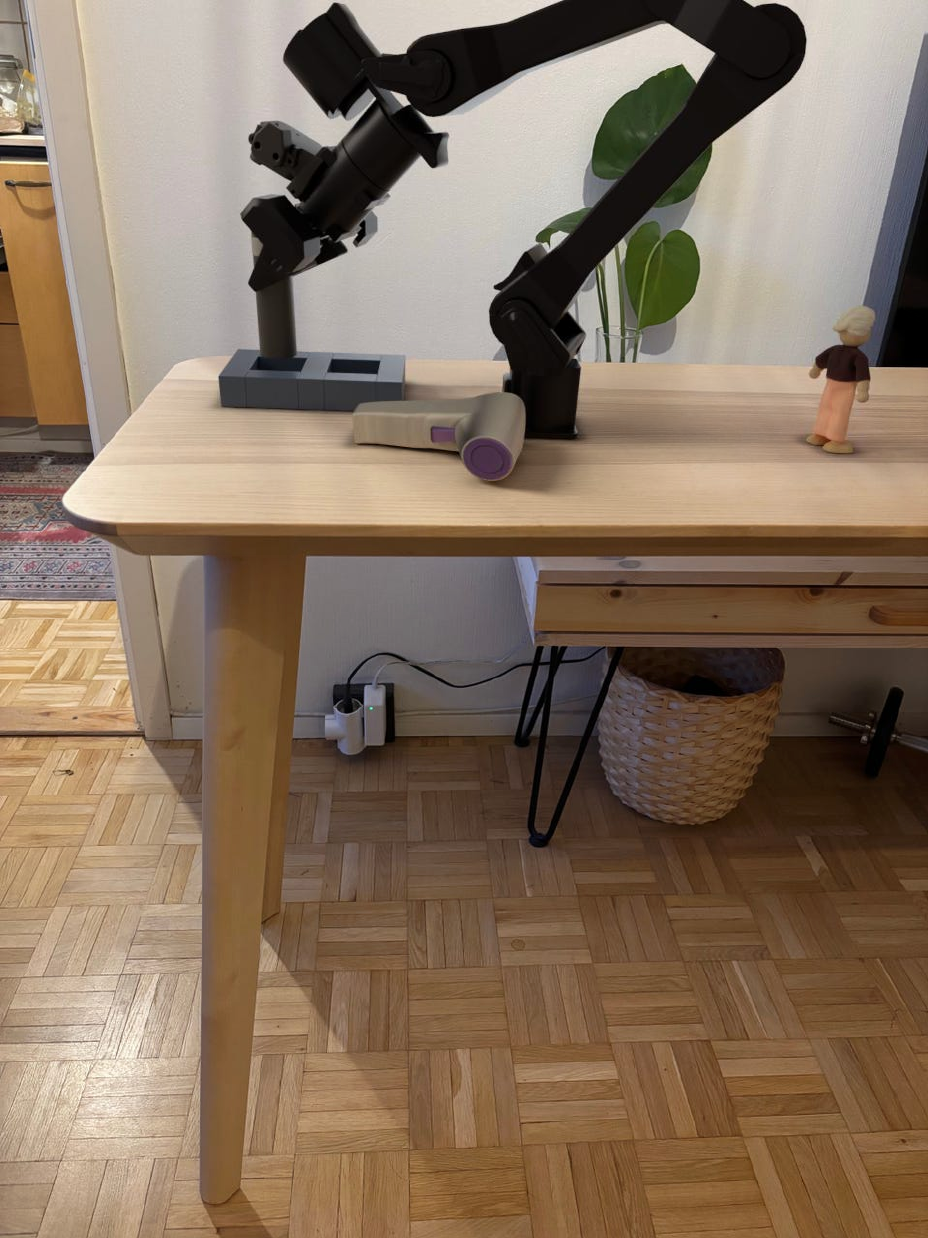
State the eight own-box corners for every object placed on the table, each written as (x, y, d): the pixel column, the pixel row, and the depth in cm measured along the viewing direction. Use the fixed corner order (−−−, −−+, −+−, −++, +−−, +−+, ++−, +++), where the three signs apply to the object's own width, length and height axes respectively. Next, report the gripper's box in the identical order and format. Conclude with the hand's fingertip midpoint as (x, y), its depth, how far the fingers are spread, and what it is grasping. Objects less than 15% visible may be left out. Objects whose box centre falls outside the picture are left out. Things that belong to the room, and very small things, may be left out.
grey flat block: (405, 383, 99) (405, 354, 97) (401, 412, 90) (402, 382, 88) (240, 377, 98) (237, 348, 96) (220, 406, 89) (218, 375, 88)
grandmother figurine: (872, 453, 85) (912, 313, 79) (845, 460, 84) (883, 316, 77) (807, 428, 91) (839, 295, 85) (780, 434, 89) (810, 298, 83)
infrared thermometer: (364, 437, 86) (525, 439, 84) (336, 487, 76) (519, 489, 74) (360, 389, 84) (526, 389, 82) (331, 433, 73) (520, 434, 72)
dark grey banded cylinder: (305, 355, 92) (298, 219, 86) (274, 361, 90) (265, 222, 83) (282, 347, 94) (274, 214, 88) (252, 353, 92) (241, 217, 85)
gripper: (345, 86, 87) (248, 205, 95) (253, 85, 71) (146, 227, 79) (423, 183, 89) (322, 291, 97) (351, 203, 74) (237, 330, 82)
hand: (261, 283), depth 89 cm, fingers closed on dark grey banded cylinder, 3 cm apart
